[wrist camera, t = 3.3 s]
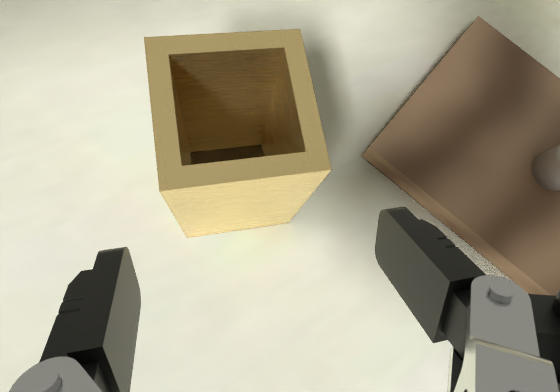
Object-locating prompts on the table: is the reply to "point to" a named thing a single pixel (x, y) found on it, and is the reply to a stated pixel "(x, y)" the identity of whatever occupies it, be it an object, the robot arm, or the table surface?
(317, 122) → the wooden sleeve
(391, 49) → the table surface
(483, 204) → the post board
